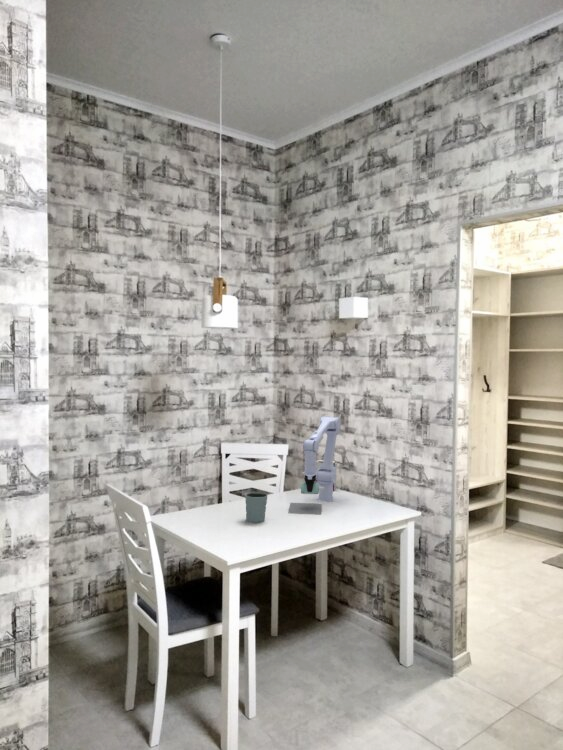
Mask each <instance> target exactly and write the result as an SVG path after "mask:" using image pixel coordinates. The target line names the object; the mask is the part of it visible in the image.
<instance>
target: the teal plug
mask: <svg viewBox="0 0 563 750" xmlns="http://www.w3.org/2000/svg"><path fill="white" fill-rule="evenodd" d="M319 490H324V487H319V483H316V481H315V482H314V484H313V490H312V492H308V491H307V485H306V482H305V481H302V482H300V493H301V494H303V495H319Z"/></svg>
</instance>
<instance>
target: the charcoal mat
mask: <svg viewBox="0 0 563 750" xmlns="http://www.w3.org/2000/svg"><path fill="white" fill-rule="evenodd" d="M322 505H323V504H322V503H310V502H309V503H307V502H290V503H289V508H288V511H287V512H288V513H287V514H295V515H315V516H316V515H318V516H321V515H322V510H323V509H322Z"/></svg>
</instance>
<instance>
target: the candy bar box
mask: <svg viewBox="0 0 563 750" xmlns="http://www.w3.org/2000/svg"><path fill="white" fill-rule="evenodd" d="M323 460H324V459H316V473H317V470H318V467H319V466H321V465H322V464H323ZM332 466H333V467H334V468H335V469H336V470H337V460H333V463H332ZM323 471H328V470H323ZM331 472H332V471H331ZM315 482H316V483H318V481H317V480H315ZM335 489H336V490H337V480H336V481H335V483H334V484H333V492H334V491H336V490H335Z"/></svg>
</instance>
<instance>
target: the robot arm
mask: <svg viewBox="0 0 563 750" xmlns="http://www.w3.org/2000/svg"><path fill="white" fill-rule="evenodd" d="M341 425H342V422H341V419H340V418H339V417H334V416H333V417H331V416H324V415H323V416H321V418H320V420H319V427H317V430H314V431H313V433H311V435H310V436H309V438H308V439H306V440H304V441H303V444H302V449H303V454H304V471H302V473H301V474H302V475H304V479H303V480H304V482H306V485H307V491H308V492H312V490H313V484H314V482H316V480H317V481H318V483H319V487H324V490H319V494H318V496H317V501H318V502H334V496H333V495H334V494H333V492H334V491H333V484H334V483H335V481H336V482H337V468H336V469H335V468H334V467H333V466H332V463H333V461H334V456H335V449H336V443H337V435H339V434H340V431H341ZM324 434H326V440H325V447H324V455H323V459H322V460H323V464H322V465H321V466H319V467H318V470H317V473H316V461H317V452H318V451H319V448H320V443H321V442H322V440H323V439H324ZM323 470H328V471H323ZM331 471H332V472H331Z"/></svg>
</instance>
